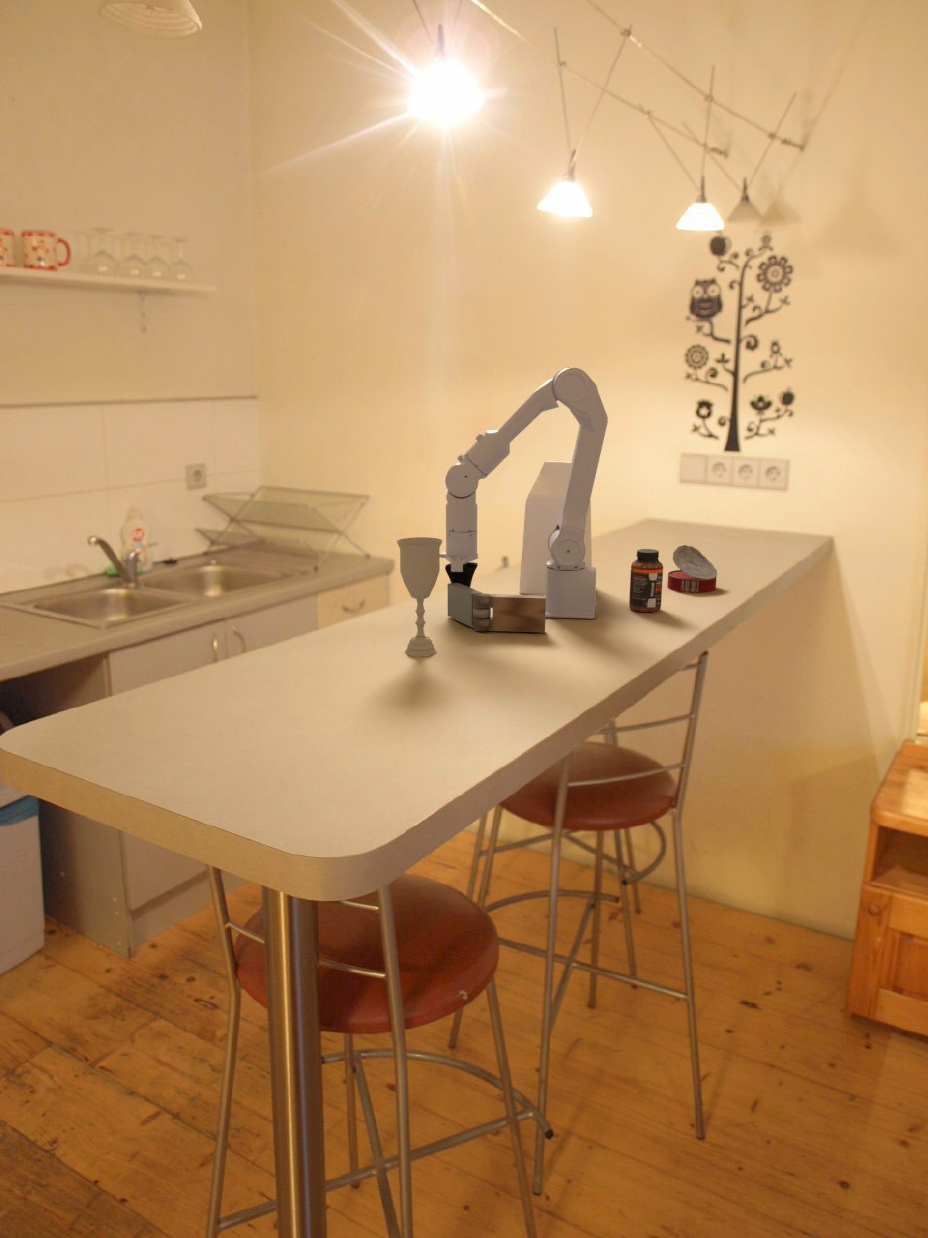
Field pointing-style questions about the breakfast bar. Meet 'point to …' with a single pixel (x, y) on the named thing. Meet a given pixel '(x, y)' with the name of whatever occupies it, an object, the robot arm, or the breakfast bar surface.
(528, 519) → the milk
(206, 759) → the breakfast bar surface
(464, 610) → the swing leaf
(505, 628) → the fixed leaf
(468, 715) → the breakfast bar surface
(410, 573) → the chalice
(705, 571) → the canned food
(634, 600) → the supplement bottle
